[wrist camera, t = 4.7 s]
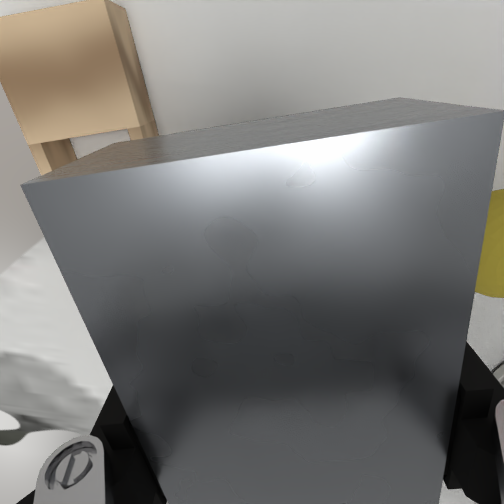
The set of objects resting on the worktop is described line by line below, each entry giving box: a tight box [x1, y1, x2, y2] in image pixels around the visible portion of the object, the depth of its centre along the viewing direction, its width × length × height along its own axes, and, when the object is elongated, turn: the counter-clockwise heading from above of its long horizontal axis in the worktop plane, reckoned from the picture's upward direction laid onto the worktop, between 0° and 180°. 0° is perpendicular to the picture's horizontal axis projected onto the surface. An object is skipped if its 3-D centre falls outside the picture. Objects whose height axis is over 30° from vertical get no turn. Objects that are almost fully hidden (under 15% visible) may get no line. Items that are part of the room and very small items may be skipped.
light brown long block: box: [0, 0, 159, 175], centre depth 25 cm, size 24×7×4 cm, turn 9°
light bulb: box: [475, 189, 504, 298], centre depth 22 cm, size 7×7×10 cm
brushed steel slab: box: [21, 98, 504, 504], centre depth 10 cm, size 13×6×6 cm, turn 9°
